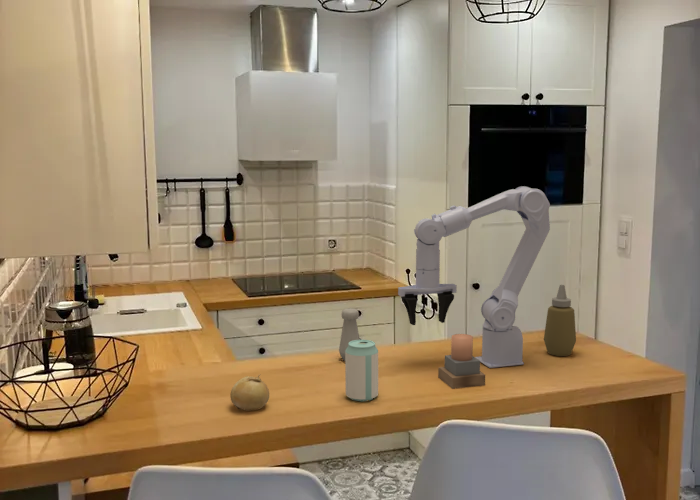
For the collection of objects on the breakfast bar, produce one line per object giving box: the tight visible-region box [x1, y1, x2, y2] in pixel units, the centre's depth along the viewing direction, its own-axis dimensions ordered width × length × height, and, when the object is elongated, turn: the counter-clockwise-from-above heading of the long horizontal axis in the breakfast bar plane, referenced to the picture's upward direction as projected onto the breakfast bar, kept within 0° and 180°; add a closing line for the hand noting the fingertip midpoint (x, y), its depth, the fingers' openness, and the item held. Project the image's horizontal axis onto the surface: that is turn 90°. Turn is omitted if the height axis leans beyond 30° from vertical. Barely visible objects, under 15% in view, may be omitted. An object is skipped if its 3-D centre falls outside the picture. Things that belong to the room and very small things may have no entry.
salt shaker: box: [338, 307, 361, 362], centre depth 179 cm, size 6×6×13 cm
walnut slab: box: [437, 366, 486, 390], centre depth 164 cm, size 8×8×3 cm
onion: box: [230, 373, 270, 412], centre depth 148 cm, size 8×8×7 cm
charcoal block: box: [444, 354, 481, 376], centre depth 163 cm, size 6×6×3 cm
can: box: [344, 339, 379, 402], centre depth 153 cm, size 7×7×12 cm
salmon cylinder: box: [450, 333, 474, 361], centre depth 163 cm, size 5×5×5 cm
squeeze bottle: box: [543, 284, 577, 357], centre depth 183 cm, size 8×8×18 cm
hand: (427, 322), depth 175 cm, fingers open, 7 cm apart
